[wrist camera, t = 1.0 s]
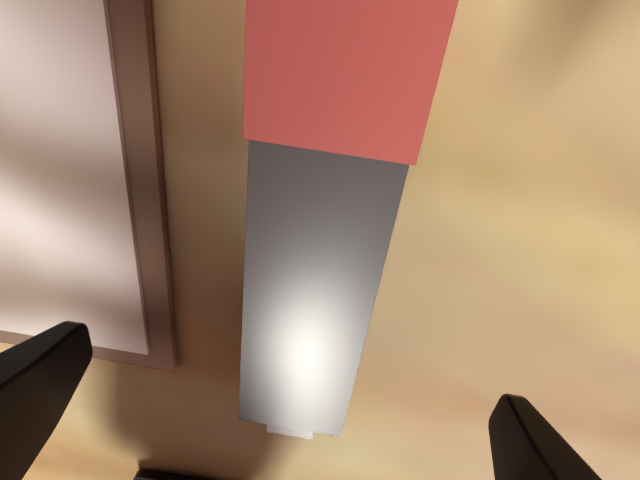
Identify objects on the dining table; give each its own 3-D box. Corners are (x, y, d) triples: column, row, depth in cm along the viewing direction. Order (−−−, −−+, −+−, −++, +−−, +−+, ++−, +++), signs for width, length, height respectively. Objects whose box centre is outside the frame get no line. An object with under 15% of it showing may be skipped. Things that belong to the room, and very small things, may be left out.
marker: (340, 387, 18) (335, 472, 15) (256, 373, 18) (232, 454, 15) (430, -3, 10) (460, -7, 7) (284, -25, 10) (248, -38, 7)
